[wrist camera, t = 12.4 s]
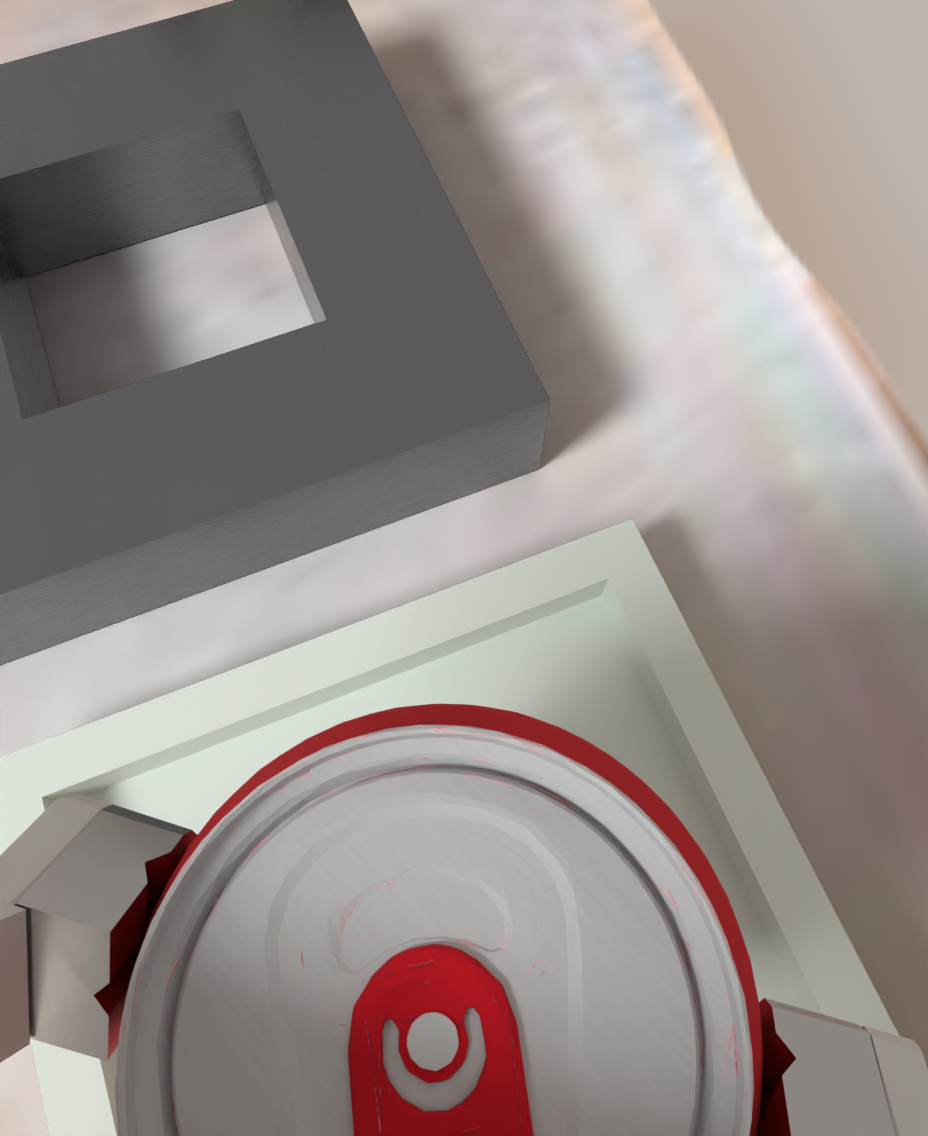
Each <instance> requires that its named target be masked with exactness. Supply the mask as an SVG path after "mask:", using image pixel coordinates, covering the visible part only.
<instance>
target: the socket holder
mask: <svg viewBox="0 0 928 1136" xmlns="http://www.w3.org/2000/svg"><path fill="white" fill-rule="evenodd" d="M265 203H266V205H267V208H268V210H269V212H270V215H271V217H272V220H273V222H274V225H275V227H276V230H277V232H278V234H279V237H280V239H281V242H282V244H283V247H284V249H285V252H286V254H287V256H288V259H289V261H290V264H291V266H292V269H293V271H294V273H295V276H296V278H297V281H298V283H299V286H300V288H301V291H302V293H303V295H304V298H305V300H306V303H307V305H308V308H309V310H310V313H311V315H312V317H313V320H314V322H315V324H312V325H309V326H306V327H303V328H300V329H297V330H294V331H291V332H288V333H285V334H281V335H278V336H275V337H272V338H269V339H266V340H263V341H260V342H257V343H254V344H251V345H248V346H245V347H242V348H239V349H236V350H233V351H230V352H227V353H224V354H221V355H218V356H215V357H211V358H208V359H205V360H202V361H199V362H196V363H193V364H190V365H187V366H184V367H181V368H178V369H175V370H172V371H169V372H166V373H163V374H160V375H157V376H154V377H151V378H148V379H144V380H141V381H138V382H135V383H132V384H129V385H126V386H123V387H120V388H117V389H114V390H111V391H108V392H105V393H102V394H99V395H96V396H93V397H90V398H87V399H84V400H81V401H78V402H74V403H71V404H68V405H65V406H62V407H60V403H59V399H58V396H57V392H56V388H55V385H54V381H53V377H52V374H51V370H50V366H49V363H48V359H47V355H46V352H45V348H44V344H43V341H42V337H41V333H40V330H39V326H38V322H37V318H36V315H35V311H34V307H33V304H32V300H31V296H30V293H29V289H28V285H27V282H26V278H25V277H27V276H30V275H34V274H37V273H40V272H43V271H47V270H50V269H53V268H56V267H60V266H63V265H66V264H69V263H73V262H76V261H79V260H82V259H86V258H89V257H92V256H95V255H99V254H102V253H105V252H108V251H112V250H115V249H118V248H121V247H125V246H128V245H131V244H134V243H138V242H141V241H144V240H147V239H151V238H154V237H157V236H160V235H164V234H167V233H170V232H173V231H177V230H180V229H183V228H186V227H190V226H193V225H196V224H199V223H203V222H206V221H209V220H212V219H216V218H219V217H222V216H226V215H229V214H232V213H235V212H239V211H242V210H245V209H248V208H252V207H255V206H258V205H261V204H265ZM549 404H550V399H549V397H548V395H547V393H546V391H545V389H544V387H543V385H542V383H541V381H540V379H539V377H538V375H537V373H536V372H535V370H534V368H533V366H532V364H531V362H530V360H529V358H528V356H527V354H526V352H525V350H524V348H523V346H522V344H521V342H520V340H519V338H518V336H517V334H516V332H515V330H514V328H513V326H512V324H511V322H510V320H509V318H508V316H507V314H506V312H505V310H504V308H503V306H502V304H501V302H500V300H499V299H498V297H497V295H496V293H495V291H494V289H493V287H492V285H491V283H490V281H489V279H488V277H487V275H486V273H485V271H484V269H483V267H482V265H481V263H480V261H479V259H478V257H477V255H476V253H475V251H474V249H473V247H472V245H471V243H470V241H469V239H468V237H467V235H466V233H465V231H464V229H463V227H462V225H461V224H460V222H459V220H458V218H457V216H456V214H455V212H454V210H453V208H452V206H451V204H450V202H449V200H448V198H447V196H446V194H445V192H444V190H443V188H442V186H441V184H440V182H439V180H438V178H437V176H436V174H435V172H434V170H433V168H432V166H431V164H430V162H429V160H428V158H427V156H426V154H425V152H424V150H423V149H422V147H421V145H420V143H419V141H418V139H417V137H416V135H415V133H414V131H413V129H412V127H411V125H410V123H409V121H408V119H407V117H406V115H405V113H404V111H403V109H402V107H401V105H400V103H399V101H398V99H397V97H396V95H395V93H394V91H393V89H392V87H391V85H390V83H389V81H388V79H387V77H386V76H385V74H384V72H383V70H382V68H381V66H380V64H379V62H378V60H377V58H376V56H375V54H374V52H373V50H372V48H371V46H370V44H369V42H368V40H367V38H366V36H365V34H364V32H363V30H362V28H361V26H360V24H359V22H358V20H357V18H356V16H355V14H354V12H353V10H352V8H351V6H350V4H349V2H348V1H347V0H234V1H230V2H226V3H223V4H219V5H215V6H212V7H208V8H204V9H201V10H197V11H193V12H190V13H186V14H183V15H179V16H175V17H172V18H168V19H164V20H161V21H157V22H153V23H150V24H146V25H143V26H139V27H135V28H132V29H128V30H124V31H121V32H117V33H113V34H110V35H106V36H102V37H99V38H95V39H92V40H88V41H84V42H81V43H77V44H73V45H70V46H66V47H62V48H59V49H55V50H52V51H48V52H44V53H41V54H37V55H33V56H30V57H26V58H22V59H19V60H15V61H11V62H8V63H4V64H1V65H0V665H2V664H5V663H7V662H10V661H13V660H16V659H18V658H21V657H24V656H27V655H29V654H32V653H35V652H38V651H40V650H43V649H46V648H49V647H51V646H54V645H57V644H60V643H62V642H65V641H68V640H71V639H73V638H76V637H79V636H82V635H84V634H87V633H90V632H93V631H95V630H98V629H101V628H104V627H106V626H109V625H112V624H115V623H117V622H120V621H123V620H126V619H128V618H131V617H134V616H137V615H139V614H142V613H145V612H148V611H150V610H153V609H156V608H159V607H161V606H164V605H167V604H170V603H172V602H175V601H178V600H181V599H183V598H186V597H189V596H192V595H194V594H197V593H200V592H203V591H205V590H208V589H211V588H214V587H216V586H219V585H222V584H225V583H227V582H230V581H233V580H236V579H238V578H241V577H244V576H247V575H249V574H252V573H255V572H258V571H260V570H263V569H266V568H269V567H271V566H274V565H277V564H280V563H282V562H285V561H288V560H290V559H293V558H296V557H299V556H301V555H304V554H307V553H310V552H312V551H315V550H318V549H321V548H323V547H326V546H329V545H332V544H334V543H337V542H340V541H343V540H345V539H348V538H351V537H354V536H356V535H359V534H362V533H365V532H367V531H370V530H373V529H376V528H378V527H381V526H384V525H387V524H389V523H392V522H395V521H398V520H400V519H403V518H406V517H409V516H411V515H414V514H417V513H420V512H422V511H425V510H428V509H431V508H433V507H436V506H439V505H442V504H444V503H447V502H450V501H453V500H455V499H458V498H461V497H464V496H466V495H469V494H472V493H475V492H477V491H480V490H483V489H486V488H488V487H491V486H494V485H497V484H499V483H502V482H505V481H508V480H510V479H513V478H516V477H519V476H521V475H524V474H527V473H530V472H532V471H535V470H538V469H539V467H540V461H541V454H542V448H543V442H544V435H545V429H546V423H547V417H548V410H549Z"/></svg>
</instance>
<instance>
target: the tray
mask: <svg viewBox="0 0 928 1136" xmlns="http://www.w3.org/2000/svg"><path fill="white" fill-rule="evenodd" d="M425 704H470V705H477V706H485V707H491V708H497V709H502V710H508V711H513V712H518V713H521V714H524V715H527V716H530V717H533V718H536V719H539V720H541V721H544V722H547V723H549V724H552V725H555V726H558V727H560V728H562V729H564V730H566V731H568V732H570V733H572V734H574V735H576V736H578V737H581V738H583V739H585V740H586V741H588V742H590V743H591V744H593V745H595V746H596V747H598V748H599V749H601V750H603V751H604V752H606V753H607V754H609V755H611V756H612V757H613V758H615V759H616V760H617V761H619V762H620V763H621V764H623V765H624V766H625V767H627V768H628V769H629V770H630V771H631V772H633V773H634V774H635V775H636V776H638V777H639V778H640V779H641V780H642V781H643V782H645V783H646V784H647V785H648V786H649V787H650V788H651V789H652V790H653V791H654V792H655V793H656V794H657V795H658V796H659V797H660V798H661V799H662V800H663V801H664V802H665V803H666V804H667V805H668V806H669V807H670V808H671V810H672V811H673V812H674V813H675V815H676V816H677V817H678V818H679V820H680V821H681V822H682V823H683V825H684V826H685V827H686V829H687V830H688V832H689V833H690V834H691V836H692V837H693V839H694V840H695V841H696V843H697V844H698V845H699V847H700V848H701V850H702V851H703V853H704V854H705V856H706V857H707V859H708V861H709V862H710V864H711V866H712V868H713V870H714V872H715V874H716V876H717V877H718V879H719V881H720V883H721V885H722V887H723V889H724V890H725V892H726V894H727V896H728V898H729V901H730V904H731V906H732V909H733V911H734V914H735V917H736V919H737V922H738V925H739V927H740V930H741V933H742V936H743V939H744V942H745V945H746V948H747V951H748V954H749V957H750V960H751V965H752V970H753V975H754V980H755V985H756V990H757V995H758V1001H759V1002H760V1001H761V1000H762V999H763V998H767V999H770V1000H774V1001H777V1002H781V1003H785V1004H788V1005H792V1006H795V1007H799V1008H802V1009H806V1010H809V1011H813V1012H816V1013H820V1014H823V1015H827V1016H830V1017H834V1018H837V1019H841V1020H844V1021H848V1022H851V1023H855V1024H857V1025H859V1026H860V1027H861V1026H866V1027H869V1028H873V1029H877V1030H880V1031H884V1032H887V1033H891V1034H894V1035H898V1036H899V1034H898V1032H897V1030H896V1028H895V1026H894V1024H893V1022H892V1020H891V1018H890V1017H889V1015H888V1013H887V1011H886V1009H885V1007H884V1005H883V1003H882V1001H881V999H880V997H879V995H878V993H877V991H876V989H875V988H874V986H873V984H872V982H871V980H870V978H869V976H868V974H867V972H866V970H865V968H864V966H863V964H862V962H861V960H860V958H859V957H858V955H857V953H856V951H855V949H854V947H853V945H852V943H851V941H850V939H849V937H848V935H847V933H846V931H845V929H844V928H843V926H842V924H841V922H840V920H839V918H838V916H837V914H836V912H835V910H834V908H833V906H832V904H831V902H830V900H829V898H828V897H827V895H826V893H825V891H824V889H823V887H822V885H821V883H820V881H819V879H818V877H817V875H816V873H815V871H814V869H813V868H812V866H811V864H810V862H809V860H808V858H807V856H806V854H805V852H804V850H803V848H802V846H801V844H800V842H799V840H798V838H797V837H796V835H795V833H794V831H793V829H792V827H791V825H790V823H789V821H788V819H787V817H786V815H785V813H784V811H783V809H782V808H781V806H780V804H779V802H778V800H777V798H776V796H775V794H774V792H773V790H772V788H771V786H770V784H769V782H768V780H767V779H766V777H765V775H764V773H763V771H762V769H761V767H760V765H759V763H758V761H757V759H756V757H755V755H754V753H753V751H752V749H751V748H750V746H749V744H748V742H747V740H746V738H745V736H744V734H743V732H742V730H741V728H740V726H739V724H738V722H737V720H736V719H735V717H734V715H733V713H732V711H731V709H730V707H729V705H728V703H727V701H726V699H725V697H724V695H723V693H722V691H721V689H720V688H719V686H718V684H717V682H716V680H715V678H714V676H713V674H712V672H711V670H710V668H709V666H708V664H707V662H706V660H705V659H704V657H703V655H702V653H701V651H700V649H699V647H698V645H697V643H696V641H695V639H694V637H693V635H692V633H691V631H690V630H689V628H688V626H687V624H686V622H685V620H684V618H683V616H682V614H681V612H680V610H679V608H678V606H677V604H676V602H675V600H674V599H673V597H672V595H671V593H670V591H669V589H668V587H667V585H666V583H665V581H664V579H663V577H662V575H661V573H660V571H659V570H658V568H657V566H656V564H655V562H654V560H653V558H652V556H651V554H650V552H649V550H648V548H647V546H646V544H645V542H644V540H643V539H642V537H641V535H640V533H639V531H638V529H637V527H636V525H635V523H634V521H633V519H630V520H627V521H624V522H622V523H619V524H616V525H614V526H611V527H608V528H606V529H603V530H600V531H598V532H595V533H592V534H590V535H587V536H584V537H582V538H579V539H577V540H574V541H571V542H569V543H566V544H563V545H561V546H558V547H555V548H553V549H550V550H547V551H545V552H542V553H539V554H537V555H534V556H532V557H529V558H526V559H524V560H521V561H518V562H516V563H513V564H510V565H508V566H505V567H502V568H500V569H497V570H494V571H492V572H489V573H486V574H484V575H481V576H479V577H476V578H473V579H471V580H468V581H465V582H463V583H460V584H457V585H455V586H452V587H449V588H447V589H444V590H441V591H439V592H436V593H434V594H431V595H428V596H426V597H423V598H420V599H418V600H415V601H412V602H410V603H407V604H404V605H402V606H399V607H396V608H394V609H391V610H388V611H386V612H383V613H381V614H378V615H375V616H373V617H370V618H367V619H365V620H362V621H359V622H357V623H354V624H351V625H349V626H346V627H343V628H341V629H338V630H336V631H333V632H330V633H328V634H325V635H322V636H320V637H317V638H314V639H312V640H309V641H306V642H304V643H301V644H298V645H296V646H293V647H290V648H288V649H285V650H283V651H280V652H277V653H275V654H272V655H269V656H267V657H264V658H261V659H259V660H256V661H253V662H251V663H248V664H245V665H243V666H240V667H238V668H235V669H232V670H230V671H227V672H224V673H222V674H219V675H216V676H214V677H211V678H208V679H206V680H203V681H200V682H198V683H195V684H193V685H190V686H187V687H185V688H182V689H179V690H177V691H174V692H171V693H169V694H166V695H163V696H161V697H158V698H155V699H153V700H150V701H147V702H145V703H142V704H140V705H137V706H134V707H132V708H129V709H126V710H124V711H121V712H118V713H116V714H113V715H110V716H108V717H105V718H102V719H100V720H97V721H95V722H92V723H89V724H87V725H84V726H81V727H79V728H76V729H73V730H71V731H68V732H65V733H63V734H60V735H57V736H55V737H52V738H49V739H47V740H44V741H42V742H39V743H36V744H34V745H31V746H28V747H26V748H23V749H20V750H18V751H15V752H12V753H10V754H7V755H4V756H2V757H0V855H1V854H2V853H3V852H4V851H5V850H6V849H7V848H8V847H9V846H10V845H11V844H12V843H13V842H14V841H15V840H16V839H17V838H18V837H19V836H20V835H21V834H22V833H23V832H24V831H25V830H26V829H27V828H28V827H29V826H30V825H31V824H32V823H33V822H34V821H35V820H36V819H37V818H38V817H39V816H40V815H41V814H42V813H43V812H44V811H45V810H46V809H47V808H48V807H49V806H50V805H51V804H52V803H53V802H54V801H55V800H56V799H58V798H59V797H61V796H63V795H66V794H68V793H71V792H74V793H77V794H80V795H83V796H86V797H89V798H92V799H95V800H98V801H101V802H104V803H107V804H110V805H112V804H113V805H117V806H120V807H123V808H126V809H129V810H132V811H135V812H138V813H141V814H144V815H147V816H151V817H154V818H157V819H160V820H163V821H166V822H169V823H172V824H175V825H178V826H182V827H185V828H188V829H191V830H193V831H194V832H195V833H196V834H197V835H198V834H199V832H200V831H201V830H202V828H203V827H204V826H205V825H206V823H207V822H208V821H209V819H210V818H211V817H212V816H213V814H214V813H215V812H216V811H217V810H218V809H219V808H220V807H221V806H222V805H223V804H224V803H225V802H226V801H227V800H228V799H229V798H230V797H231V796H232V795H233V794H234V793H235V792H236V791H237V790H238V789H239V788H240V787H241V786H242V785H243V784H244V783H246V782H247V781H248V780H249V779H250V778H251V777H252V776H253V775H254V774H255V773H256V772H257V771H258V770H260V769H261V768H263V767H264V766H265V765H267V764H268V763H270V762H271V761H273V760H274V759H276V758H277V757H278V756H280V755H281V754H283V753H284V752H286V751H288V750H289V749H291V748H293V747H294V746H296V745H297V744H299V743H301V742H302V741H304V740H306V739H307V738H309V737H311V736H314V735H316V734H318V733H320V732H322V731H325V730H327V729H329V728H331V727H333V726H335V725H338V724H340V723H342V722H345V721H348V720H352V719H355V718H358V717H361V716H364V715H368V714H371V713H375V712H380V711H384V710H388V709H392V708H397V707H406V706H416V705H425ZM30 1040H31V1045H32V1050H33V1055H34V1060H35V1065H36V1070H37V1075H38V1080H39V1085H40V1090H41V1095H42V1100H43V1105H44V1110H45V1116H46V1121H47V1126H48V1131H49V1136H118V1124H117V1112H116V1100H115V1081H116V1068H117V1055H118V1046H117V1047H116V1049H115V1050H114V1052H113V1053H112V1055H111V1056H110V1058H109V1060H108V1061H105V1060H101V1059H98V1058H95V1057H91V1056H88V1055H84V1054H81V1053H78V1052H74V1051H71V1050H67V1049H64V1048H61V1047H57V1046H54V1045H50V1044H47V1043H44V1042H40V1041H37V1040H33V1039H30Z"/></svg>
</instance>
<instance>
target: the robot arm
mask: <svg viewBox="0 0 928 1136" xmlns="http://www.w3.org/2000/svg"><path fill="white" fill-rule="evenodd" d="M196 836H197V834H196V833H195V832H194V831H193V830H191V829H188V828H185V827H182V826H178V825H175V824H172V823H169V822H166V821H163V820H160V819H157V818H154V817H151V816H147V815H144V814H141V813H138V812H135V811H132V810H129V809H126V808H123V807H120V806H117V805H113V804H112V805H110V804H107V803H104V802H101V801H98V800H95V799H92V798H89V797H86V796H83V795H80V794H77V793H74V792H71V793H68V794H66V795H63V796H61V797H59V798H58V799H56V800H55V801H54V802H53V803H52V804H51V805H50V806H49V807H48V808H47V809H46V810H45V811H44V812H43V813H42V814H41V815H40V816H39V817H38V818H37V819H36V820H35V821H34V822H33V823H32V824H31V825H30V826H29V827H28V828H27V829H26V830H25V831H24V832H23V833H22V834H21V835H20V836H19V837H18V838H17V839H16V840H15V841H14V842H13V843H12V844H11V845H10V846H9V847H8V848H7V849H6V850H5V851H4V852H3V853H2V854H1V855H0V1063H1V1062H2V1061H4V1060H5V1059H7V1058H8V1057H10V1056H12V1055H13V1054H15V1053H16V1052H18V1051H19V1050H21V1049H23V1048H24V1047H26V1046H27V1045H29V1043H30V1039H33V1040H37V1041H40V1042H44V1043H47V1044H50V1045H54V1046H57V1047H61V1048H64V1049H67V1050H71V1051H74V1052H78V1053H81V1054H84V1055H88V1056H91V1057H95V1058H98V1059H101V1060H105V1061H108V1060H109V1058H110V1056H111V1055H112V1053H113V1052H114V1050H115V1049H116V1047H117V1046H118V1043H119V1031H120V1026H121V1020H122V1015H123V1010H124V1005H125V1000H126V995H127V991H128V987H129V983H130V980H131V976H132V973H133V970H134V966H135V963H136V960H137V958H138V955H139V952H140V948H141V945H142V941H143V938H144V936H145V933H146V930H147V927H148V925H149V922H150V919H151V916H152V913H153V911H154V909H155V907H156V905H157V903H158V901H159V899H160V896H161V894H162V892H163V890H164V888H165V886H166V884H167V882H168V880H169V879H170V877H171V875H172V874H173V872H174V870H175V869H176V867H177V865H178V864H179V862H180V860H181V859H182V857H183V855H184V854H185V852H186V850H187V849H188V847H189V845H190V844H191V843H192V841H193V840H194V839H195V837H196ZM759 1006H760V1018H761V1030H762V1043H763V1073H762V1099H761V1108H760V1115H759V1122H758V1129H757V1136H928V1068H927V1065H926V1062H925V1059H924V1056H923V1052H922V1050H921V1049H920V1047H919V1046H918V1045H917V1044H916V1042H915V1041H914V1040H912V1039H908V1038H905V1037H901V1036H898V1035H894V1034H891V1033H887V1032H884V1031H880V1030H877V1029H873V1028H869V1027H866V1026H861V1027H860V1026H859V1025H857V1024H855V1023H851V1022H848V1021H844V1020H841V1019H837V1018H834V1017H830V1016H827V1015H823V1014H820V1013H816V1012H813V1011H809V1010H806V1009H802V1008H799V1007H795V1006H792V1005H788V1004H785V1003H781V1002H777V1001H774V1000H770V999H767V998H763V999H762V1000H761V1001H760V1002H759Z"/></svg>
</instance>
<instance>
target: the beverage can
mask: <svg viewBox="0 0 928 1136" xmlns="http://www.w3.org/2000/svg"><path fill="white" fill-rule="evenodd" d="M762 1073H763V1043H762V1030H761V1018H760V1006H759V1001H758V995H757V990H756V985H755V980H754V975H753V970H752V965H751V960H750V957H749V954H748V951H747V948H746V945H745V942H744V939H743V936H742V933H741V930H740V927H739V925H738V922H737V919H736V917H735V914H734V911H733V909H732V906H731V904H730V901H729V898H728V896H727V894H726V892H725V890H724V889H723V887H722V885H721V883H720V881H719V879H718V877H717V876H716V874H715V872H714V870H713V868H712V866H711V864H710V862H709V861H708V859H707V857H706V856H705V854H704V853H703V851H702V850H701V848H700V847H699V845H698V844H697V843H696V841H695V840H694V839H693V837H692V836H691V834H690V833H689V832H688V830H687V829H686V827H685V826H684V825H683V823H682V822H681V821H680V820H679V818H678V817H677V816H676V815H675V813H674V812H673V811H672V810H671V808H670V807H669V806H668V805H667V804H666V803H665V802H664V801H663V800H662V799H661V798H660V797H659V796H658V795H657V794H656V793H655V792H654V791H653V790H652V789H651V788H650V787H649V786H648V785H647V784H646V783H645V782H643V781H642V780H641V779H640V778H639V777H638V776H636V775H635V774H634V773H633V772H631V771H630V770H629V769H628V768H627V767H625V766H624V765H623V764H621V763H620V762H619V761H617V760H616V759H615V758H613V757H612V756H611V755H609V754H607V753H606V752H604V751H603V750H601V749H599V748H598V747H596V746H595V745H593V744H591V743H590V742H588V741H586V740H585V739H583V738H581V737H578V736H576V735H574V734H572V733H570V732H568V731H566V730H564V729H562V728H560V727H558V726H555V725H552V724H549V723H547V722H544V721H541V720H539V719H536V718H533V717H530V716H527V715H524V714H521V713H518V712H513V711H508V710H502V709H497V708H491V707H485V706H477V705H470V704H425V705H416V706H406V707H397V708H392V709H388V710H384V711H380V712H375V713H371V714H368V715H364V716H361V717H358V718H355V719H352V720H348V721H345V722H342V723H340V724H338V725H335V726H333V727H331V728H329V729H327V730H325V731H322V732H320V733H318V734H316V735H314V736H311V737H309V738H307V739H306V740H304V741H302V742H301V743H299V744H297V745H296V746H294V747H293V748H291V749H289V750H288V751H286V752H284V753H283V754H281V755H280V756H278V757H277V758H276V759H274V760H273V761H271V762H270V763H268V764H267V765H265V766H264V767H263V768H261V769H260V770H258V771H257V772H256V773H255V774H254V775H253V776H252V777H251V778H250V779H249V780H248V781H247V782H246V783H244V784H243V785H242V786H241V787H240V788H239V789H238V790H237V791H236V792H235V793H234V794H233V795H232V796H231V797H230V798H229V799H228V800H227V801H226V802H225V803H224V804H223V805H222V806H221V807H220V808H219V809H218V810H217V811H216V812H215V813H214V814H213V816H212V817H211V818H210V819H209V821H208V822H207V823H206V825H205V826H204V827H203V828H202V830H201V831H200V832H199V834H198V835H197V836H196V837H195V839H194V840H193V841H192V843H191V844H190V845H189V847H188V849H187V850H186V852H185V854H184V855H183V857H182V859H181V860H180V862H179V864H178V865H177V867H176V869H175V870H174V872H173V874H172V875H171V877H170V879H169V880H168V882H167V884H166V886H165V888H164V890H163V892H162V894H161V896H160V899H159V901H158V903H157V905H156V907H155V909H154V911H153V913H152V916H151V919H150V922H149V925H148V927H147V930H146V933H145V936H144V938H143V941H142V945H141V948H140V952H139V955H138V958H137V960H136V963H135V966H134V970H133V973H132V976H131V980H130V983H129V987H128V991H127V995H126V1000H125V1005H124V1010H123V1015H122V1020H121V1026H120V1031H119V1043H118V1055H117V1068H116V1081H115V1100H116V1112H117V1124H118V1136H757V1129H758V1122H759V1115H760V1108H761V1099H762Z"/></svg>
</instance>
